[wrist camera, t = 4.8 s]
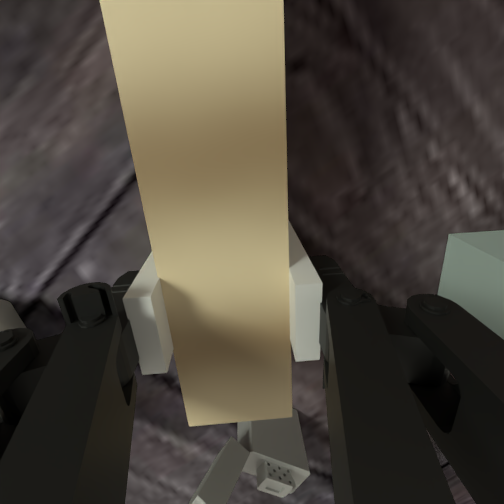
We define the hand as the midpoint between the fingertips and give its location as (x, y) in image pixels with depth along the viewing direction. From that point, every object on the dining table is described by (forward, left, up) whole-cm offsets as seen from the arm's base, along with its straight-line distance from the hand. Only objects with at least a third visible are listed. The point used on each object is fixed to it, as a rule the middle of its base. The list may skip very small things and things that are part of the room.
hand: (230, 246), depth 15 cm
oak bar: (-5, 0, -1) cm, 5 cm away
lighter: (+13, 0, -2) cm, 13 cm away
